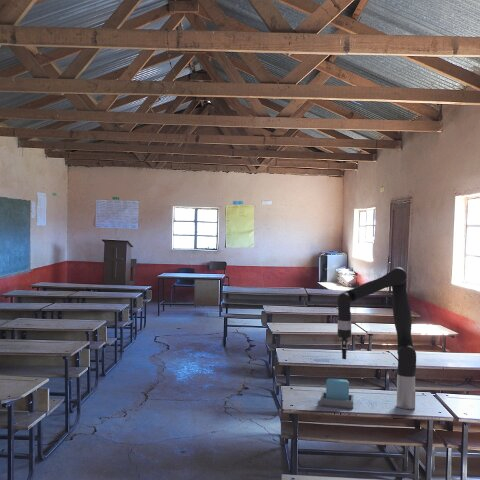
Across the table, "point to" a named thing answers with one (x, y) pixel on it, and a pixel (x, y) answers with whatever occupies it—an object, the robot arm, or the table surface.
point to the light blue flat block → (337, 389)
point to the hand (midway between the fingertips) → (344, 357)
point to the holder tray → (336, 402)
